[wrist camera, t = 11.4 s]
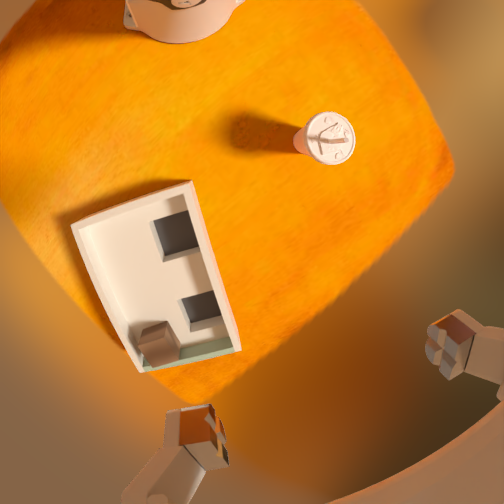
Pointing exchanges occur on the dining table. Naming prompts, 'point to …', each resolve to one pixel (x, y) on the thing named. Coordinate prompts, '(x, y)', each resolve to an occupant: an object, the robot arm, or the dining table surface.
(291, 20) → the dining table surface
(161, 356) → the walnut block
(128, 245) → the box
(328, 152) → the smoothie
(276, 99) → the dining table surface
